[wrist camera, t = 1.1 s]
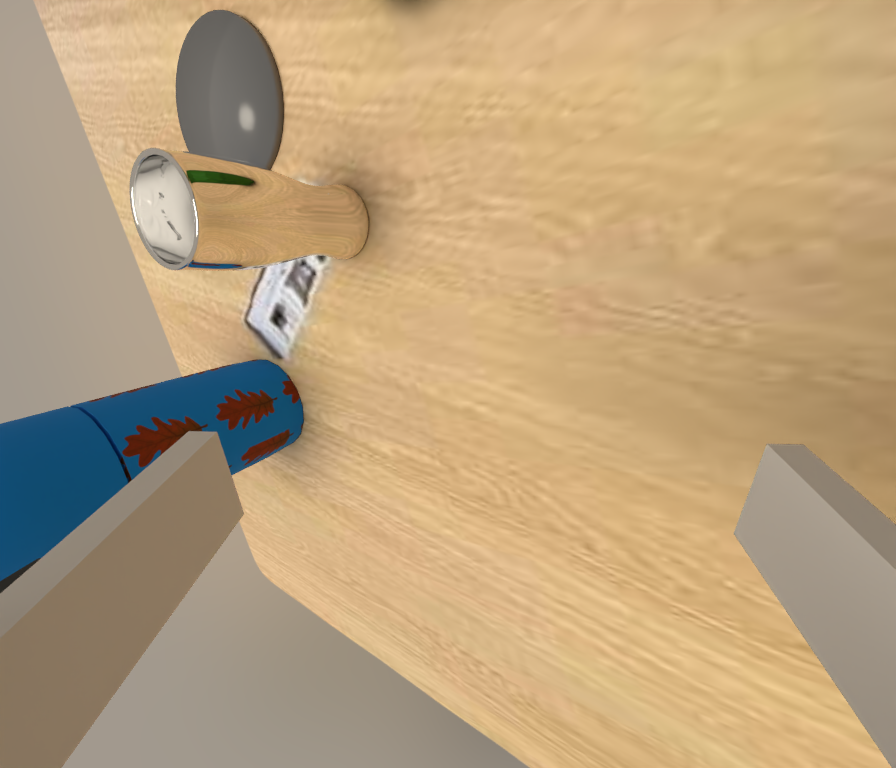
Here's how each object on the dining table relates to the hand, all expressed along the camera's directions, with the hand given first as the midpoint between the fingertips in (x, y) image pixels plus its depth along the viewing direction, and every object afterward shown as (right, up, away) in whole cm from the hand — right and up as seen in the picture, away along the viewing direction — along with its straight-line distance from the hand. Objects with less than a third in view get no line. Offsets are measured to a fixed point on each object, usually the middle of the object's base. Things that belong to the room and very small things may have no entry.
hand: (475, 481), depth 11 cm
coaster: (-21, +28, +29) cm, 45 cm away
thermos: (-21, 0, +38) cm, 44 cm away
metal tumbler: (-10, +17, +26) cm, 33 cm away
